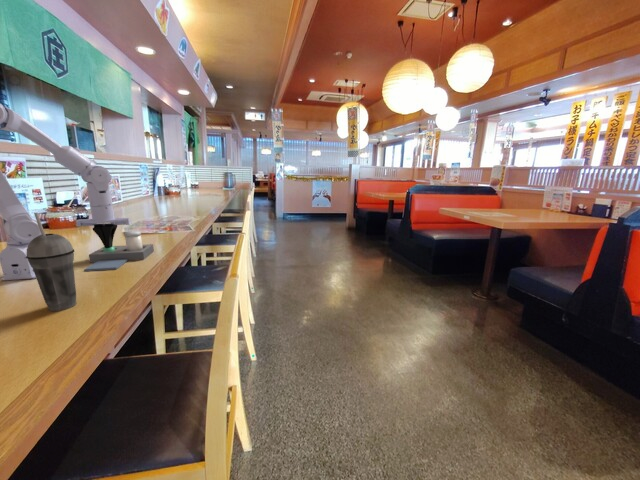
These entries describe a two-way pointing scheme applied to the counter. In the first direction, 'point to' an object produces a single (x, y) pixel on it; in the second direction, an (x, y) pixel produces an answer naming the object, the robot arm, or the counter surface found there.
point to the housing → (121, 253)
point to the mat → (106, 265)
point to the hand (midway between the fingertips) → (108, 247)
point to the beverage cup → (53, 268)
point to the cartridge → (133, 240)
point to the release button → (109, 249)
